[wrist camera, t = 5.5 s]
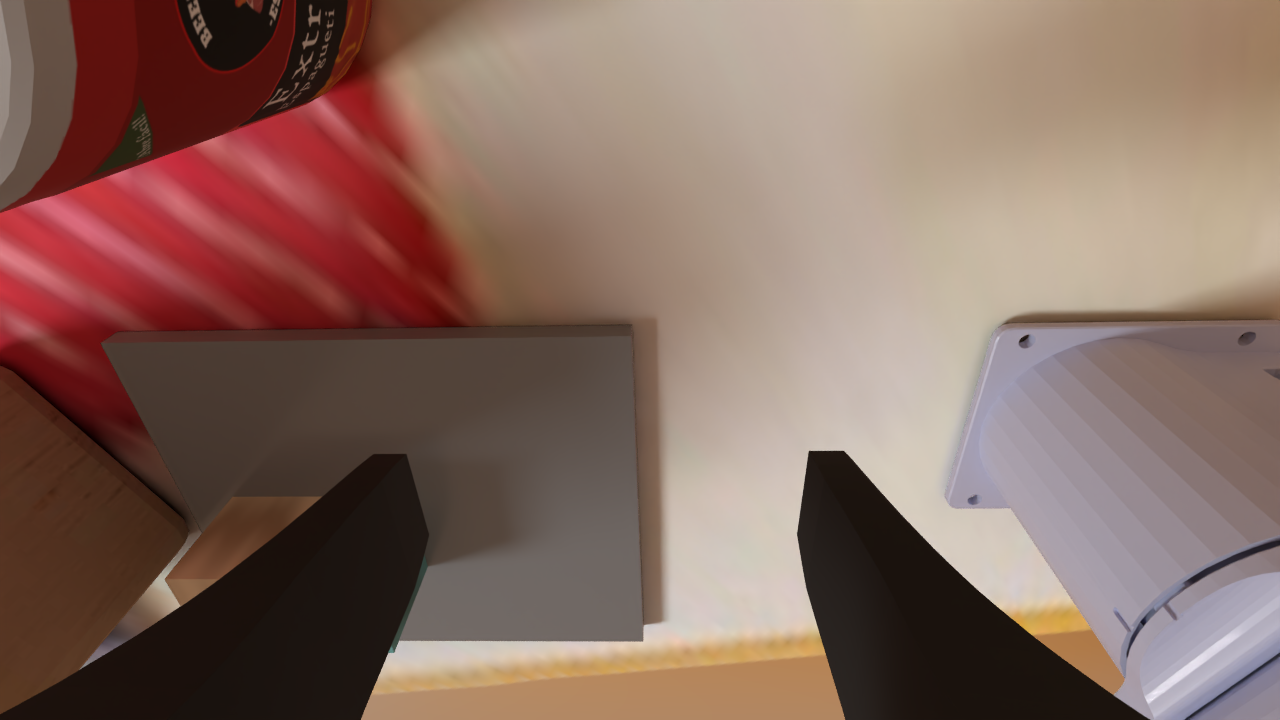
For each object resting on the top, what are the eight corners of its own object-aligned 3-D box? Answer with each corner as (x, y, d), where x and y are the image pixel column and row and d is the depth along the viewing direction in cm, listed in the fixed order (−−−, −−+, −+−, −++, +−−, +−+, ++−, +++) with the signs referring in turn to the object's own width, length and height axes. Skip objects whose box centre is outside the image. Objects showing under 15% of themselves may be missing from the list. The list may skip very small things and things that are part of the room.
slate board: (632, 324, 21) (631, 336, 21) (643, 626, 30) (643, 641, 29) (117, 331, 22) (100, 343, 21) (268, 625, 30) (259, 640, 30)
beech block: (366, 579, 21) (164, 579, 21) (393, 652, 23) (208, 652, 23) (407, 496, 25) (232, 496, 25) (427, 566, 27) (266, 566, 27)
